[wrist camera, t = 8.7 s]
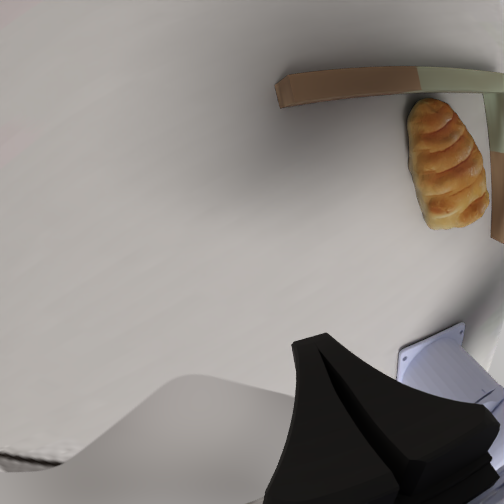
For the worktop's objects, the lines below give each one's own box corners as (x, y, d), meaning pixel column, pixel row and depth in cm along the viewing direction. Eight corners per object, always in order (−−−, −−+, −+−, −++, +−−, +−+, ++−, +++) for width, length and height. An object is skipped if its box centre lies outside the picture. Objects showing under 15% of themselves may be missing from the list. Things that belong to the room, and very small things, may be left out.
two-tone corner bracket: (499, 233, 23) (525, 246, 20) (315, 297, 23) (332, 322, 19) (489, 77, 18) (518, 75, 15) (274, 85, 17) (288, 74, 14)
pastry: (378, 118, 19) (410, 116, 15) (441, 86, 18) (474, 83, 15) (422, 231, 22) (452, 248, 19) (475, 192, 22) (506, 202, 18)
